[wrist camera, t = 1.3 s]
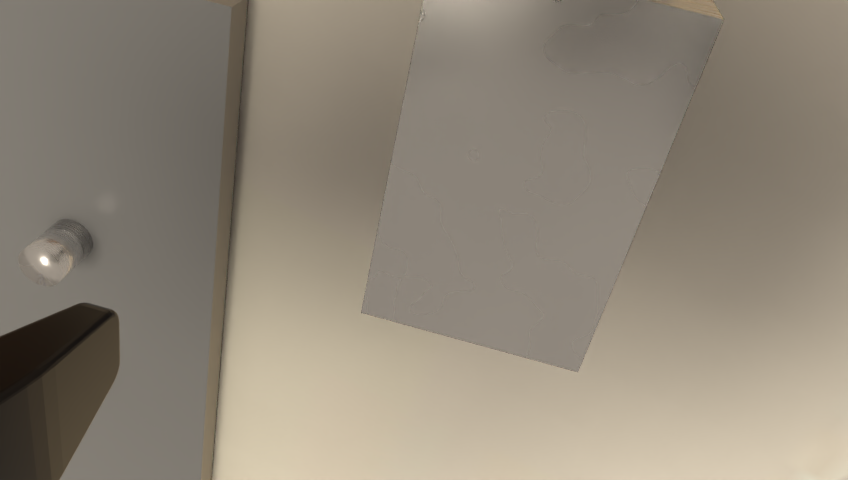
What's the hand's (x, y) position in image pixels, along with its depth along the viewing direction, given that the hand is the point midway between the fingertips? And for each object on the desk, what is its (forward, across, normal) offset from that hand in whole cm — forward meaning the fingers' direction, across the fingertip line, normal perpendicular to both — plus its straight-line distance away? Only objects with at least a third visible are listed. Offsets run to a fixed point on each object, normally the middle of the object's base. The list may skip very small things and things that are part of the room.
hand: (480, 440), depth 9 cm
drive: (+11, 0, 0) cm, 11 cm away
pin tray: (+11, +15, +9) cm, 21 cm away
